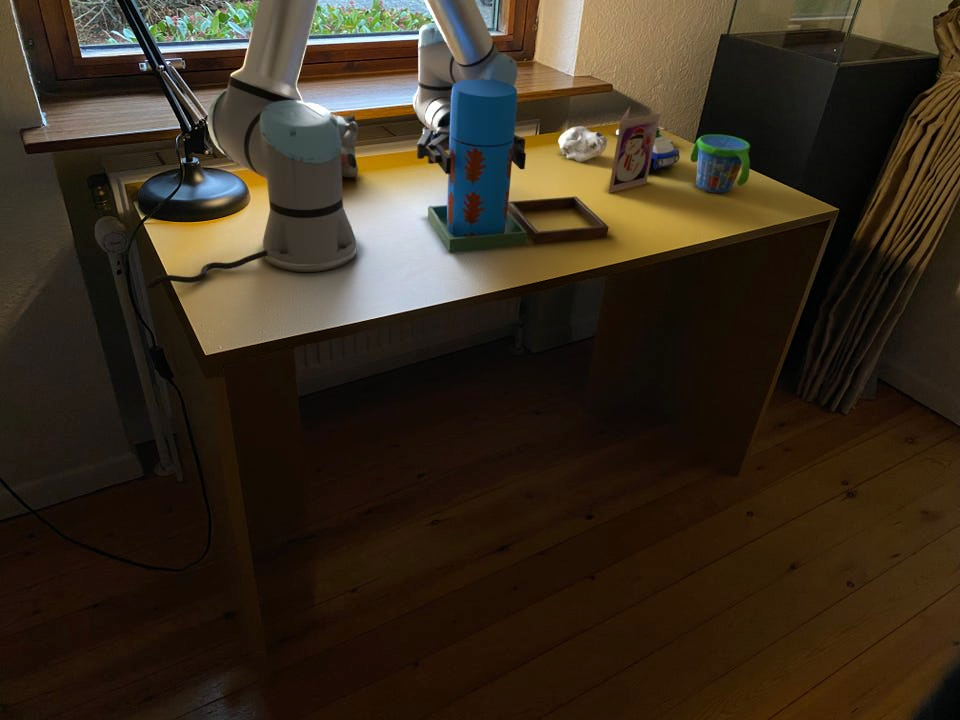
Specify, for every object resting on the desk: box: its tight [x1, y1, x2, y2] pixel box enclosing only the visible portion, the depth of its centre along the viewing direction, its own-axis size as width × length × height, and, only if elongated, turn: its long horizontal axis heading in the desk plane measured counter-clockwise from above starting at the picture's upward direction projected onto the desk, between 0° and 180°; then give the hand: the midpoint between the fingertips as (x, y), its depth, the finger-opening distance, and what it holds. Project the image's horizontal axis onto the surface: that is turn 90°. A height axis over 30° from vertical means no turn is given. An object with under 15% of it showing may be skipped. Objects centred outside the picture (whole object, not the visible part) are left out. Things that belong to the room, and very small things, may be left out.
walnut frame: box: [508, 196, 610, 245], centre depth 138 cm, size 14×14×2 cm
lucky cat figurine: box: [334, 113, 359, 180], centre depth 149 cm, size 15×12×14 cm
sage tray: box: [427, 204, 528, 253], centre depth 133 cm, size 14×14×2 cm
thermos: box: [446, 79, 518, 237], centre depth 127 cm, size 11×11×25 cm
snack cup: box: [689, 133, 751, 194], centre depth 156 cm, size 16×10×10 cm
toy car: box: [648, 125, 681, 173], centre depth 166 cm, size 9×12×10 cm
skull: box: [557, 125, 608, 163], centre depth 168 cm, size 8×9×12 cm
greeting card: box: [608, 106, 661, 194], centre depth 154 cm, size 11×7×15 cm, turn 126°
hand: (486, 163), depth 123 cm, fingers open, 13 cm apart
